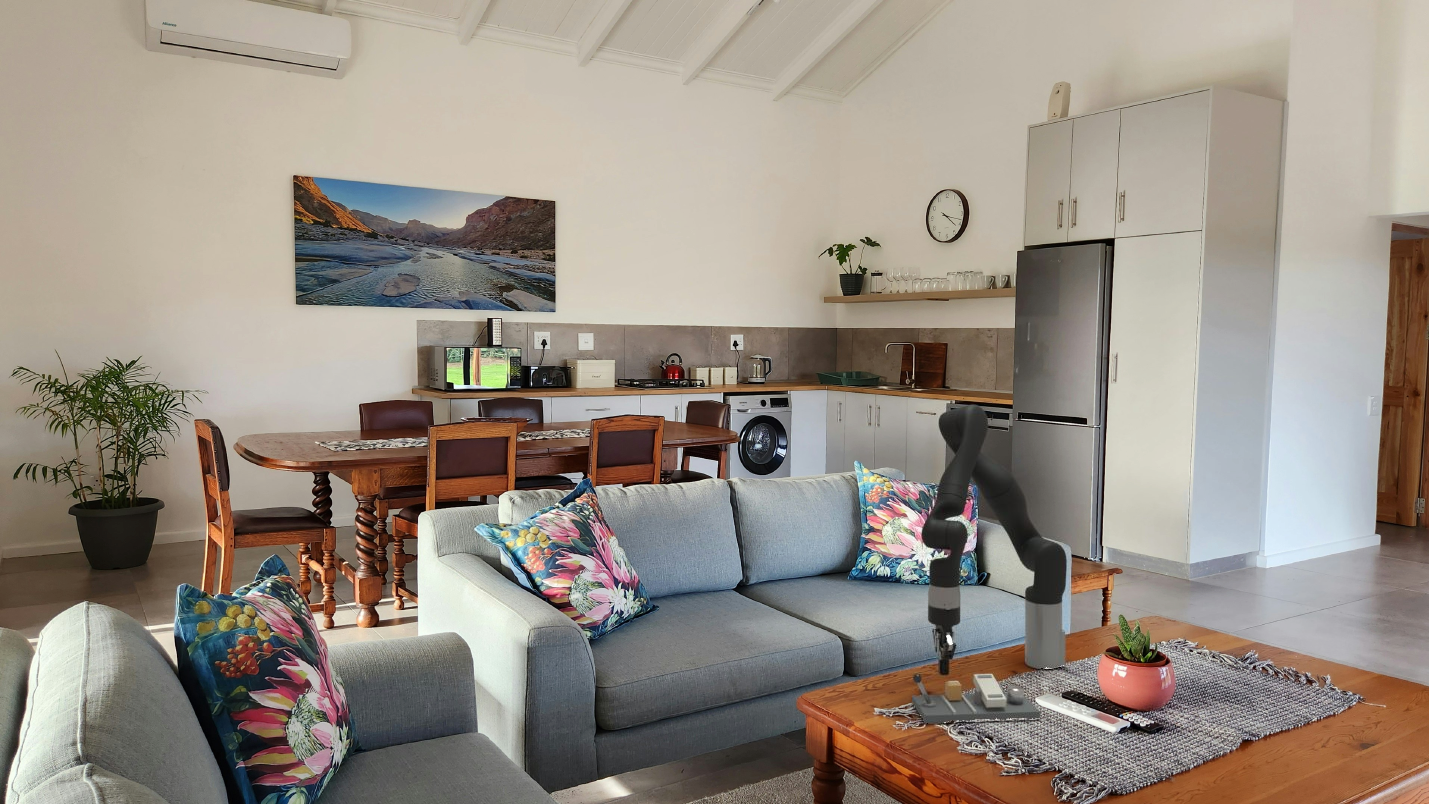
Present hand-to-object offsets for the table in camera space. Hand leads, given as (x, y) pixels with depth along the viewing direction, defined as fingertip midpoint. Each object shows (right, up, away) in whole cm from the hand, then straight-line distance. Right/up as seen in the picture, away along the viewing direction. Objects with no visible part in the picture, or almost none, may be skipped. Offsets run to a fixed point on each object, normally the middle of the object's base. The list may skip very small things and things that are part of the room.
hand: (943, 673), depth 225 cm
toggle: (-6, -4, -9) cm, 12 cm away
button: (+14, -4, -9) cm, 17 cm away
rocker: (+8, -1, -9) cm, 12 cm away
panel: (+5, -6, -9) cm, 12 cm away
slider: (+1, -4, -6) cm, 7 cm away
